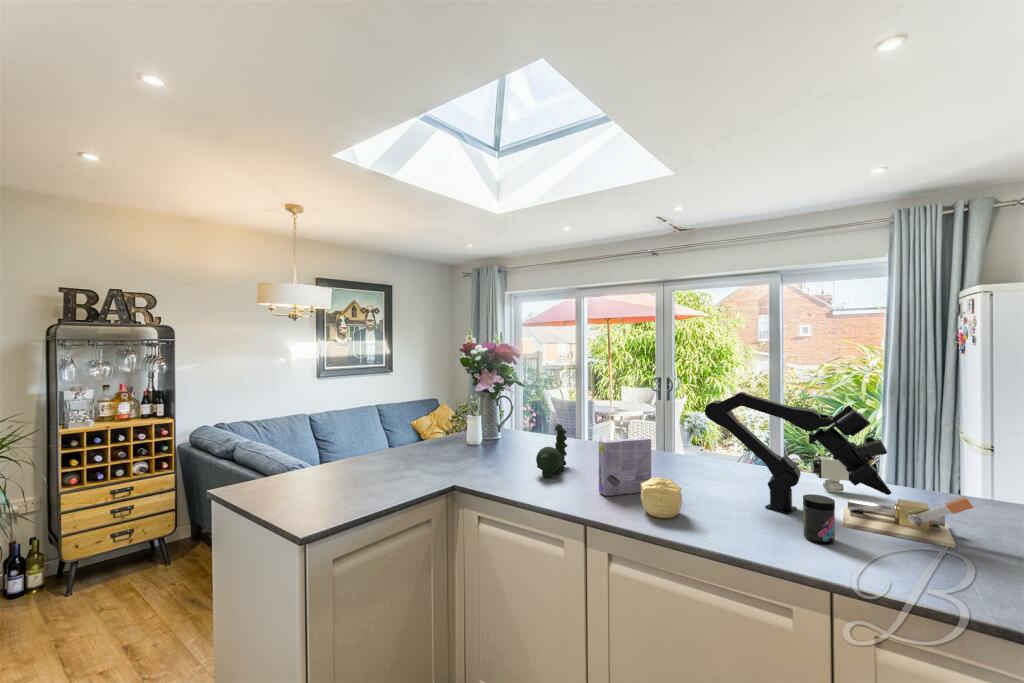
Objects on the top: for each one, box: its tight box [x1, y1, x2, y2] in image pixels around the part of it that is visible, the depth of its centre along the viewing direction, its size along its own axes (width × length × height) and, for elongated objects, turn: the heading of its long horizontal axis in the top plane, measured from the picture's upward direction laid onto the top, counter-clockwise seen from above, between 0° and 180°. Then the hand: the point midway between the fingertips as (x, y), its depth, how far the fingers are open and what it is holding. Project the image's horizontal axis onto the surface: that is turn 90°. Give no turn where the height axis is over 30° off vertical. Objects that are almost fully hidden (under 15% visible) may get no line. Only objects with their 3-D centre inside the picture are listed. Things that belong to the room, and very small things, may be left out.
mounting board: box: [842, 506, 956, 549], centre depth 122 cm, size 22×15×1 cm
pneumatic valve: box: [810, 454, 850, 494], centre depth 151 cm, size 6×12×12 cm, turn 68°
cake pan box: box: [598, 437, 652, 497], centre depth 153 cm, size 19×5×18 cm, turn 108°
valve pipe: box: [847, 498, 946, 532], centre depth 124 cm, size 20×5×6 cm, turn 52°
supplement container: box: [802, 493, 836, 546], centre depth 115 cm, size 7×7×10 cm
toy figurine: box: [535, 423, 568, 479], centre depth 176 cm, size 9×19×25 cm
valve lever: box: [907, 496, 975, 526], centre depth 115 cm, size 3×2×14 cm
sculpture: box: [640, 476, 683, 519], centre depth 133 cm, size 11×12×11 cm
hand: (889, 493), depth 121 cm, fingers closed
